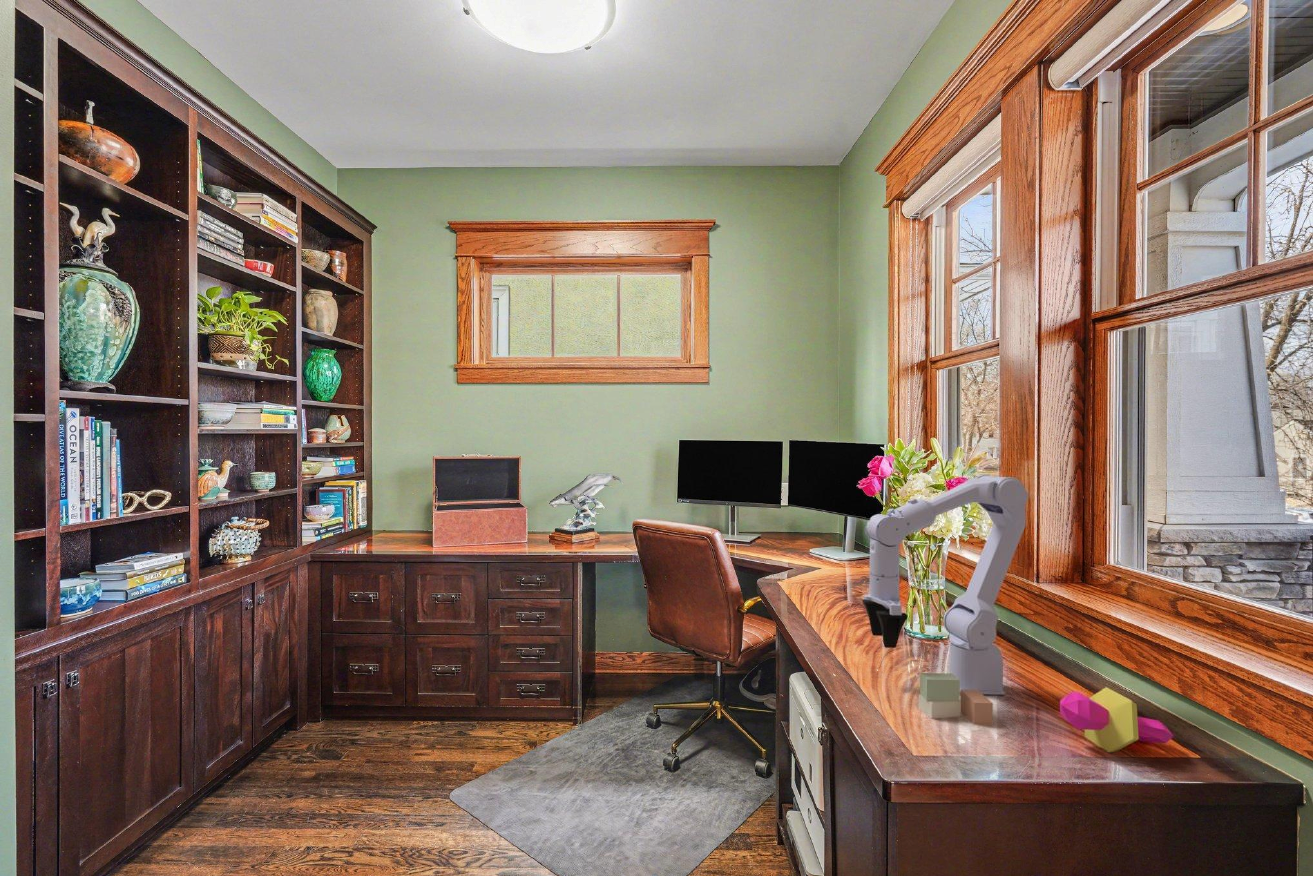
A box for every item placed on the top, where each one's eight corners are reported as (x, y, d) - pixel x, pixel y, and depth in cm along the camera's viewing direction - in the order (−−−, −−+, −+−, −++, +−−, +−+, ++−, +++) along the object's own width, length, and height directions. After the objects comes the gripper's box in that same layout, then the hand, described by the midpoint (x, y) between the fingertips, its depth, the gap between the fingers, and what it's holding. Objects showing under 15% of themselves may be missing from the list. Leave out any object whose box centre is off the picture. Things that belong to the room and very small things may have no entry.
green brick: (951, 694, 121) (952, 673, 121) (959, 701, 118) (959, 680, 118) (919, 694, 121) (920, 673, 121) (926, 701, 118) (926, 679, 118)
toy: (1191, 771, 101) (1185, 702, 105) (1085, 739, 100) (1083, 671, 104) (1137, 766, 110) (1134, 703, 114) (1040, 737, 109) (1040, 675, 114)
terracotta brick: (960, 710, 121) (960, 689, 121) (977, 711, 121) (977, 689, 121) (974, 725, 115) (974, 702, 115) (992, 725, 115) (992, 703, 115)
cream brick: (946, 708, 122) (947, 692, 122) (960, 717, 118) (960, 701, 118) (918, 710, 121) (918, 694, 121) (931, 719, 117) (931, 703, 117)
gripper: (854, 566, 137) (853, 629, 138) (875, 582, 123) (875, 652, 123) (887, 567, 137) (887, 630, 137) (912, 582, 123) (912, 653, 123)
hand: (883, 641), depth 130 cm, fingers open, 7 cm apart
